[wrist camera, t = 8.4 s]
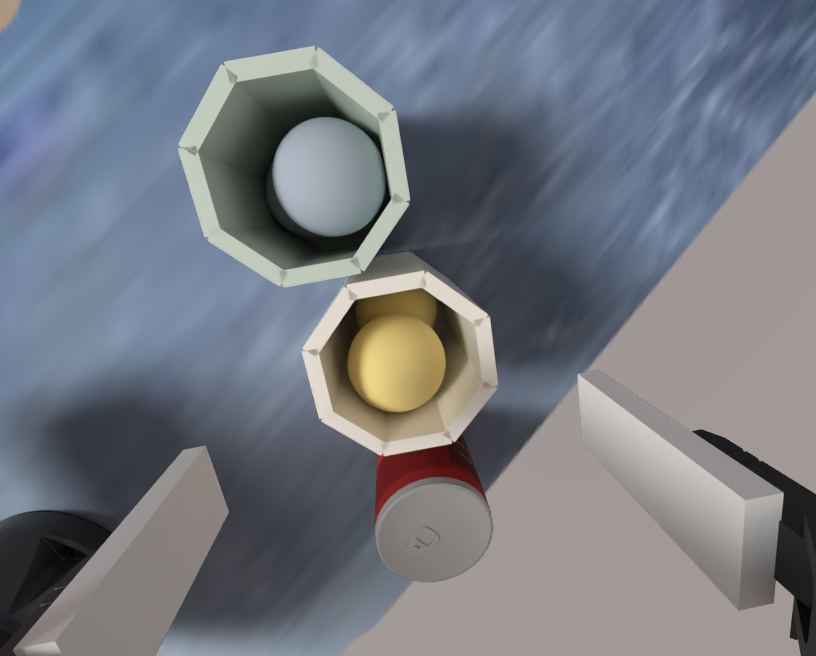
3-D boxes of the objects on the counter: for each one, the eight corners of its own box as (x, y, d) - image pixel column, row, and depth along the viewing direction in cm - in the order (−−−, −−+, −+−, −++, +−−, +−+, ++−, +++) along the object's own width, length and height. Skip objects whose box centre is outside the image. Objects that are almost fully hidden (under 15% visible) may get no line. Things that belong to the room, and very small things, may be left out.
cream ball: (366, 357, 32) (361, 357, 26) (352, 285, 32) (344, 268, 26) (439, 343, 32) (450, 340, 26) (424, 271, 33) (432, 252, 27)
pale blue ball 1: (306, 239, 31) (260, 249, 26) (287, 159, 30) (234, 151, 24) (376, 227, 30) (343, 235, 24) (360, 140, 28) (320, 127, 23)
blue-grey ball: (267, 249, 22) (337, 238, 18) (236, 132, 21) (306, 93, 17) (345, 234, 26) (416, 222, 23) (325, 136, 25) (397, 106, 21)
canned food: (363, 463, 37) (354, 562, 26) (401, 390, 35) (409, 465, 24) (436, 492, 38) (457, 598, 27) (477, 423, 36) (515, 508, 26)
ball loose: (363, 332, 29) (361, 417, 27) (336, 302, 23) (330, 407, 21) (447, 328, 28) (450, 415, 26) (440, 295, 22) (443, 405, 20)
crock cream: (350, 376, 34) (331, 466, 22) (325, 265, 32) (287, 295, 19) (460, 356, 34) (504, 433, 22) (444, 244, 32) (482, 259, 19)
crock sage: (286, 267, 32) (223, 298, 19) (253, 137, 29) (154, 73, 17) (406, 245, 32) (420, 262, 19) (383, 113, 29) (383, 33, 17)
